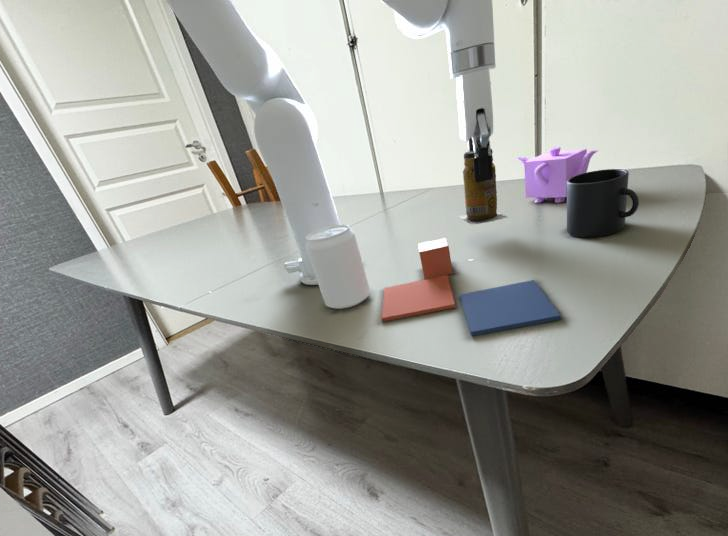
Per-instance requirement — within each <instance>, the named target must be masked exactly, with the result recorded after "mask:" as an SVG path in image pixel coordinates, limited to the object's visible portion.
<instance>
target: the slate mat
mask: <svg viewBox="0 0 728 536" xmlns="http://www.w3.org/2000/svg"><path fill="white" fill-rule="evenodd" d="M459 299H460V302H461V305H462V309H463V312H464V316H465V319H466V323H467V326H468V330H469V332H470V335H471V337H474V336H480V335H485V334H489V333H495V332H500V331H506V330H513V329H517V328H523V327H527V326H534V325H538V324H539V325H540V324H545V323H550V322H556V321H560V320H561V319H562V316H561V314H560V312H559V311H558V310H557V308H556V307H555V306H554V304H553V303H552V302H551V300H550V299H549V298H548V297H547V296H546V294H545V292H544V291H543V290H542V288H541V287H540V286H539V285H538V284H537V281H536V280H534V279H532V280H526V281H521V282H517V283H512V284H506V285H501V286H498V287H491V288H487V289H482V290H476V291H470V292H465V293H461V294H459ZM561 321H562V320H561Z"/></svg>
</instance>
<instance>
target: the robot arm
mask: <svg viewBox="0 0 728 536" xmlns="http://www.w3.org/2000/svg"><path fill="white" fill-rule="evenodd" d="M165 1H166V3H167V5H168V6H169V7H170V10H172V12H173V14H175V17H176V18H177V19H178V21H179V22H180V23H181V25H182V27H183V28H184V29H185V31H186V33H187V35H188V36H189V38H190V39H191V40H192V42H193V43H194V45H195V46H196V47H197V49H198V50H199V52H200V53H201V54H202V56H203V58H204V59H205V60H206V62H207V63H208V66H209V67H210V68H211V70H212V71H213V73H214V74H215V76H216V77H217V79H218V81H219V82H220V83H221V84H222V86H223V88H224V89H225V90H227V92H229V93H230V94H231V95H232V96H234V97H236V98H238V99H242V100H244V101H246V103H247V104H248V106H249V107H250V109H251V110H252V111H253V113H254V114H255V117H254V122H253V129H254V130H253V132H254V137H255V141H256V145H257V147H258V151H259V152H260V154H261V155H260V156H261V157H262V159H263V161H264V163H265V166H266V167H267V169H268V172H269V174H270V176H271V178H272V182H273V184H274V186H275V189H276V192H277V194H278V197H279V200H280V204H281V205H282V208H283V210H284V211H283V212H284V213H285V216H286V219H287V222H288V225H289V228H290V230H291V233H292V236H293V239H294V241H295V244H296V247H297V250H298V253H299V255H300V257H299V258H298V259H297V260H295V261H288V262H284V263H283V266H284V267H283V268H284V270H285V271H286V272H287V273H288V274H293V273H297V272H299V273H301V274H300V275H299V278H300V281H301V282H302V284H303V285H308V286H317V285H318V282H317V279H316V276H315V273H314V270H313V267H312V264H311V261H310V259H309V256H308V253H307V250H306V242H307V240H306V237H307V236H308V235H309V234H311V233H313V232H315V231H317V230H320V229H323V228H326V227H330V226H335V225H341V223H340V220H339V217H338V213H337V208H336V205H335V202H334V199H333V195H332V192H331V188H330V186H329V182H328V179H327V175H326V173H325V169H324V166H323V163H322V160H321V158H320V154H319V151H318V148H317V145H316V143H317V139H318V134H319V130H318V129H319V128H318V124H317V120H316V118H315V115H314V113H313V111H312V109H311V108H310V106H309V105H308V103H307V102H306V100H305V99H304V96H303V95H302V94H301V91H300V90H299V89H298V87H297V85H296V83H295V82H294V81H293V79H292V77H291V75H290V74H289V72H288V71H287V69H286V68H285V65H284V64H283V62H282V61H281V60H280V58H279V57H278V55H277V54H276V52H274V50H273V49H272V48H271V47H270V45H268V44H267V43H266V42H265V41H264V40H262V39H260V37H258V36H257V35H256V34H255V33H254V32H253V31H252V30H251V28H250V27H249V25H248V24H247V23H246V21H245V19H244V18H243V17H242V14H241V13H240V12H239V10H238V8H237V7H236V6H235V3H234V2H233V0H165ZM379 1H380V2H381V3H383V4H384V5H385V6H387V8H390V9H391V10H392V11H393V12H394V17H395V23H396V24H397V28H398V29H399V30H400V31H401V32H402V34H403V35H404V36H405V37H408V38H411V39H414V40H419V39H423V38H428V37H429V36H432V35H434V34H436V33H439V32H441V31H444V30H445V33H446V45H447V51H448V52H447V54H448V62H449V63H448V64H449V73H450V79H456V100H457V101H456V102H457V116H458V128H459V130H458V131H459V138H460V139H461V141H464V142H466V143H467V152H468V151H472V150H474V156H475V158H473V163H474V175H475V181H476V182H481V181H486V180H491V179H492V178H493V170H492V156H493V154H492V155H491V149H492V148H491V140H490V137H492V136H493V134H494V111H493V109H494V108H493V96H492V82H491V74H490V73H491V70H494V69H496V68H497V67H496V49H495V47H496V46H495V28H494V13H493V12H494V11H493V10H494V9H493V0H379ZM318 286H319V285H318Z"/></svg>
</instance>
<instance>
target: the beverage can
mask: <svg viewBox="0 0 728 536" xmlns="http://www.w3.org/2000/svg"><path fill="white" fill-rule="evenodd" d="M306 240H307V242H306V250H307V253H308V256H309V259H310V261H311V264H312V267H313V270H314V273H315V276H316V279H317V282H318V287H319V291H320V294H321V296H322V299H323V302H324V304H325V306H326V307H327V308H331V309H337V310H339V309H340V310H342V309H347V308H351V307H355V306H357V305H359V304H361V303H363V302H364V301H365V300H366V299H367V298H368V297H369V296H370V294H371V288H370V284H369V281H368V278H367V274H366V270H365V267H364V263H363V259H362V255H361V252H360V248H359V244H358V241H357V236H356V234H355V232H354V231H353V230H352V229H351V227H350V225H349V224H340V225H335V226H330V227H326V228H323V229H320V230H317V231H315V232H313V233H311V234H309V235H308V236H307V237H306Z"/></svg>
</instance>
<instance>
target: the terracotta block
mask: <svg viewBox="0 0 728 536" xmlns="http://www.w3.org/2000/svg"><path fill="white" fill-rule="evenodd" d="M418 253H419V258H420V263H421V267H422V268H421V269H422V273H423V274H422V275H423V280H426V279H430V278H435V277H440V276H445V275H448V276H450V275H454V272H453V266H452V265H453V264H452V259H451V253H450V246H449V243H448V240H447V237H442V238H438V239H434V240H429V241H424V242H420V243H419V242H418Z"/></svg>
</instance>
